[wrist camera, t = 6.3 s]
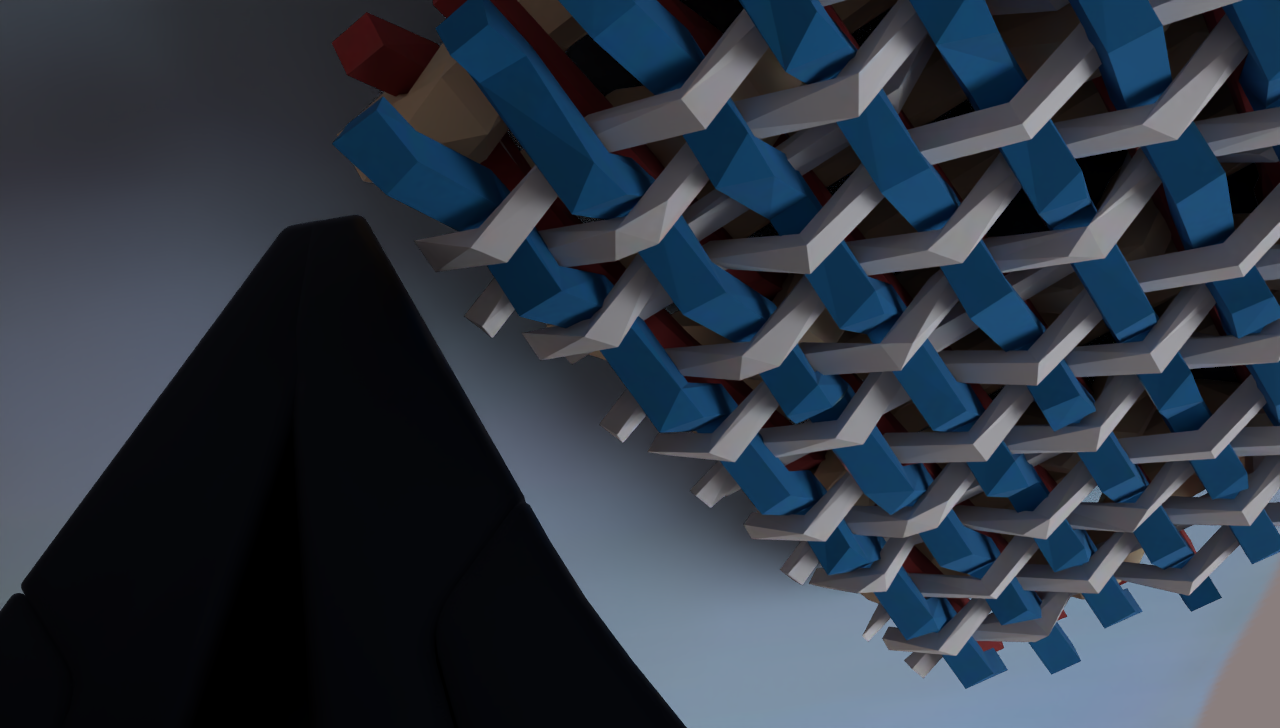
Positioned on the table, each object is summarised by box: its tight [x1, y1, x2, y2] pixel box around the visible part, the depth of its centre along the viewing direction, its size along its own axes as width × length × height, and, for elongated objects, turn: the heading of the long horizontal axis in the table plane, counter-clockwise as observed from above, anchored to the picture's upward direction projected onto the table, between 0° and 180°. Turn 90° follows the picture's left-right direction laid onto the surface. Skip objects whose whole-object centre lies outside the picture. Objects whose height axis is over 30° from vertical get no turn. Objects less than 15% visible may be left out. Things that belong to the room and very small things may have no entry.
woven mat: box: [332, 0, 1280, 688], centre depth 9 cm, size 10×11×2 cm
